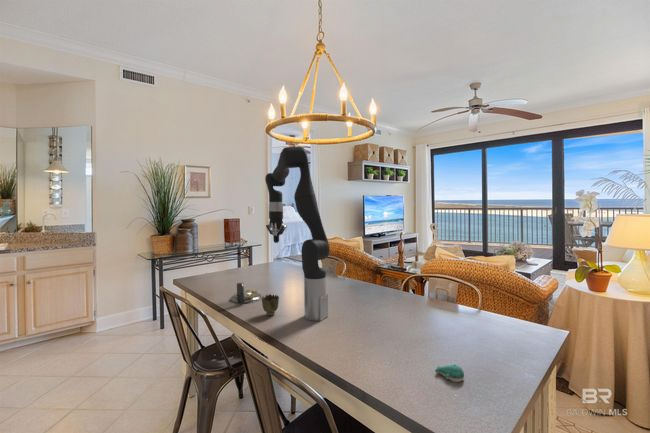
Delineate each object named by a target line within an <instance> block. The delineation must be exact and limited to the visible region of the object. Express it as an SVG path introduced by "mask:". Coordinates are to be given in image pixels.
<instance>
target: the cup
mask: <svg viewBox="0 0 650 433" xmlns="http://www.w3.org/2000/svg"><path fill="white" fill-rule="evenodd" d="M279 300H280V296H279V295H278V294H270V293H269V294H266V295H262V296H261V303H262V304H261V305H262V308H263V311H264V312H265V314H266V316H268V317H273V316H274V315H275V314H276V311H277V310H278V307H279V302H280V301H279Z"/></svg>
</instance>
